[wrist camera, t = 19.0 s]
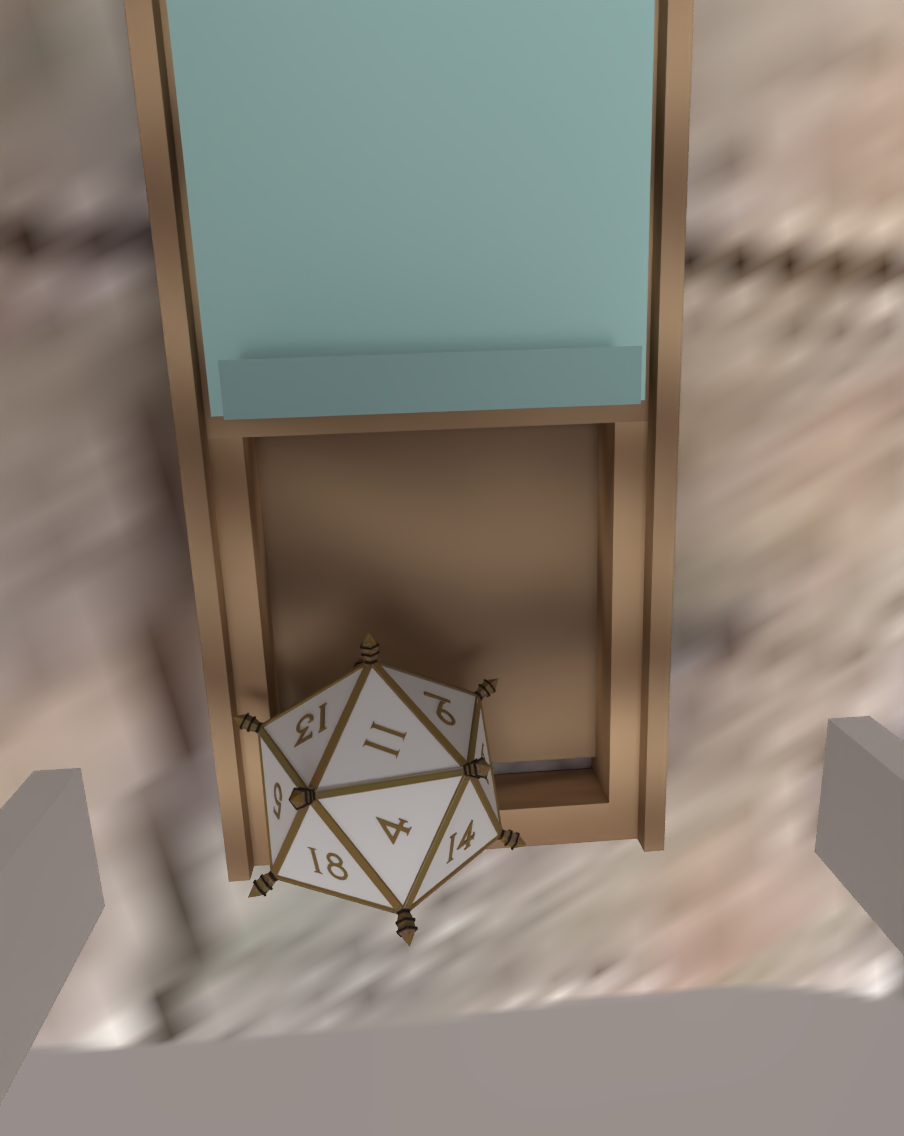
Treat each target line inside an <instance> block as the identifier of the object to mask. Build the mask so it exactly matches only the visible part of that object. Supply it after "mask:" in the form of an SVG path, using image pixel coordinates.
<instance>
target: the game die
mask: <svg viewBox="0 0 904 1136" xmlns="http://www.w3.org/2000/svg"><path fill="white" fill-rule="evenodd" d="M378 646H380V645H379V644H378V643H377V642H376V641H375V640H374V639H373V638H372V636H371V635H370V634H369V633H368V634H367V636H366V638H365V640H364V642H362V644H361V646H360V649H362V653H361V656H363V657H364V659H365V661H363V660H361V659H360V658H359V660H358V661H357V662H356V663H355V665H354V667H353V668H352V669H351V670H349V671H348V672H346V673H344V674H343V675H341V676H339V677H338V678H336V679H334V680H333V681H331V682H329V683H328V684H326V685H324V686H323V687H321V688H320V689H318V690H316V691H315V692H313V693H311V694H310V695H308V696H306V697H305V698H303V699H301V700H300V701H298V702H296V703H295V704H293V705H292V706H290V707H288V708H287V709H285V710H283V711H282V712H280V713H278V714H277V715H275V716H273V717H272V718H270V719H268V720H267V721H265V722H264V723H262V722H259V721H258V720H257V719H256V716H254V717H252V716H250V715H249V713H247V714H243V715H237V716H232V717H233V718H234V720H235V721H236V722H237V724H238V725H239V727H240V728H239V729H241V730H242V729H245V730H247V732H250V731H252V732H256V733H257V734H258V742H259V753H260V763H261V774H262V785H263V795H264V806H265V817H266V827H267V838H268V849H269V860H270V870H271V871H270V872H269V873H267V874H265V875H263V874H262V875H261V876H260V878H259V879H258V880H257V881H256V880H254V882H253V883H254V885H253V887H252V890H251V892H250V894H249V897H255V896H261V895H264V896H266V893H267V892H268V891H269V890H272V889H273V888H272V886H273V885H274V883H275V882H276V881H277V880H280V881H284V882H287V883H291V884H294V885H298V886H301V887H304V888H308V889H311V890H315V891H318V892H322V893H325V894H329V895H332V896H336V897H339V898H343V899H346V900H350V901H353V902H357V903H360V904H364V905H367V906H371V907H374V908H378V909H381V910H385V911H388V912H392V913H395V914H398V920H397V922H396V925H397V926H398V930H397V931H396V932H397V934H398V935H399V936H400V937H402V938H403V939H404V940H405V941H406V943H407V944H408V945H409V946H410V944H411V941H412V939H413V936H414V933H415V932H416V930H417V929H418V928H417V927H415V924H414V922H415V918H413V917H412V915H411V914H410V911H411V910H412V909H413V908H415V907H416V906H417V905H418V904H419V903H421V902H422V901H423V900H424V899H426V898H427V897H428V896H429V895H430V894H432V893H433V892H434V891H435V890H436V889H438V888H439V887H440V886H441V885H443V884H444V883H445V882H446V881H447V880H449V879H450V878H451V877H452V876H454V875H455V874H456V873H457V872H458V871H460V870H461V869H462V868H463V867H464V866H466V865H467V864H468V863H469V862H471V861H472V860H473V859H474V858H475V857H477V856H478V855H479V854H480V853H482V852H483V851H484V850H485V849H486V848H488V847H489V846H490V845H491V844H492V843H494V842H495V841H496V840H501V841H502V842H503V843H504V846H509V847H511V850H513V849H514V848H517V847H521V846H526V843H525V842H524V841H523V839H522V838H521V836H520V833H518V832H516V833H514V832H513V831H512V830H508V831H507V830H503V829H502V824H501V818H500V811H499V805H498V799H497V793H496V787H495V780H494V774H493V768H492V762H491V756H490V749H489V743H488V737H487V731H486V725H485V718H484V712H483V706H482V699H483V698H484V697H489V696H491V695H490V694H491V693H494V692H496V690H495V689H496V686H497V683H498V679H499V678H498V679H490V680H486V679H484V680H483V681H484V682H483V683H482V684H478V686H479V687H478V689H477V691H475V692H472V691H469V690H466V689H463V688H460V687H457V686H454V685H451V684H448V683H445V682H442V681H439V680H435V679H432V678H429V677H426V676H423V675H420V674H417V673H414V672H411V671H408V670H405V669H402V668H399V667H396V666H393V665H390V664H387V663H384V662H381V661H378V660H377V655H378V654H379V653H380V652H379V651H378ZM249 897H248V898H249Z"/></svg>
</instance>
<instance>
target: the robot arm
mask: <svg viewBox="0 0 904 1136" xmlns="http://www.w3.org/2000/svg"><path fill="white" fill-rule="evenodd" d="M815 853H816V854H817V855H818V856H819V857H820V858H821V860H822V861H823V862H824V863H825V864H826V865H827V867H828V868H829V869H830V870H831V871H832V872H833V874H834V875H835V876H836V877H837V878H838V879H839V881H840V882H841V883H842V884H843V885H844V886H845V888H846V889H847V890H848V891H849V892H850V893H851V895H852V896H853V897H854V898H855V899H856V900H857V902H858V903H859V904H860V905H861V906H862V907H863V909H864V910H865V911H866V912H867V913H868V914H869V916H870V917H871V918H872V919H873V920H874V921H875V923H876V924H877V925H878V926H879V927H880V928H881V930H882V931H883V932H884V933H885V934H886V935H887V937H888V938H889V939H890V940H891V941H892V942H893V944H894V945H895V946H896V947H897V948H898V949H899V951H900V952H901V953H902V954H903V955H904V742H903V741H902V740H901V739H899V738H898V737H897V736H895V735H894V734H893V733H891V732H890V731H889V730H887V729H886V728H885V727H883V726H882V725H881V724H879V723H878V722H877V721H875V720H874V719H873V718H871V717H870V716H862V717H847V718H832V719H828V727H827V737H826V747H825V757H824V766H823V776H822V786H821V796H820V805H819V815H818V825H817V835H816V844H815ZM104 907H105V904H104V898H103V893H102V887H101V881H100V876H99V870H98V864H97V859H96V853H95V847H94V842H93V836H92V831H91V825H90V819H89V814H88V808H87V802H86V797H85V791H84V785H83V780H82V774H81V768H71V769H56V770H41V771H33V773H32V774H31V775H30V776H29V777H28V778H27V779H26V781H25V782H24V783H23V784H22V785H21V786H20V787H19V789H18V790H17V791H16V792H15V793H14V794H13V796H12V797H11V798H10V799H9V800H8V801H7V802H6V804H5V805H4V806H3V807H2V808H1V809H0V1104H1V1103H2V1101H3V1099H4V1097H5V1095H6V1093H7V1091H8V1089H9V1088H10V1085H11V1084H12V1082H13V1080H14V1078H15V1076H16V1074H17V1072H18V1070H19V1068H20V1067H21V1065H22V1063H23V1061H24V1059H25V1057H26V1055H27V1053H28V1051H29V1050H30V1048H31V1046H32V1044H33V1042H34V1040H35V1038H36V1036H37V1034H38V1032H39V1030H40V1029H41V1027H42V1025H43V1023H44V1021H45V1019H46V1017H47V1015H48V1013H49V1011H50V1010H51V1008H52V1006H53V1004H54V1002H55V1000H56V998H57V996H58V994H59V992H60V991H61V989H62V987H63V985H64V983H65V981H66V979H67V977H68V975H69V973H70V972H71V970H72V968H73V966H74V964H75V962H76V960H77V958H78V956H79V954H80V952H81V951H82V949H83V947H84V945H85V943H86V941H87V939H88V937H89V935H90V933H91V932H92V930H93V928H94V926H95V924H96V922H97V920H98V918H99V916H100V914H101V913H102V911H103V909H104Z"/></svg>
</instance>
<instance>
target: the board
mask: <svg viewBox="0 0 904 1136" xmlns="http://www.w3.org/2000/svg"><path fill="white" fill-rule="evenodd" d="M124 7H125V15H126V23H127V32H128V40H129V49H130V57H131V65H132V74H133V82H134V90H135V99H136V107H137V116H138V124H139V132H140V141H141V149H142V157H143V166H144V174H145V183H146V191H147V199H148V208H149V216H150V224H151V233H152V241H153V250H154V258H155V266H156V275H157V283H158V291H159V300H160V308H161V317H162V325H163V333H164V342H165V350H166V359H167V367H168V375H169V384H170V392H171V400H172V409H173V417H174V426H175V434H176V442H177V451H178V459H179V467H180V476H181V484H182V493H183V501H184V509H185V518H186V526H187V534H188V543H189V551H190V560H191V568H192V576H193V585H194V593H195V601H196V610H197V618H198V627H199V635H200V643H201V652H202V660H203V668H204V677H205V685H206V694H207V702H208V710H209V719H210V727H211V735H212V744H213V752H214V761H215V769H216V777H217V786H218V794H219V803H220V811H221V819H222V828H223V836H224V844H225V853H226V861H227V870H228V878H229V882H231V881H245V880H250V878H251V875H252V871H253V868H254V866H258V865H270V860H269V849H268V838H267V827H266V817H265V806H264V795H263V785H262V774H261V763H260V753H259V742H258V734H257V733H256V732H252V731H250V732H247V730H245V729H242V730H241V729H239V728H240V727H239V725H238V724H237V722H236V721H235V720H234V718H233V717H232V716H237V715H243V714H247V713H249V715H250V716H252V717H254V716H256V719H257V720H258V721H259V722H262V723H264V722H265V721H267V720H268V719H270V718H272V717H273V716H275V715H277V714H278V713H280V712H282V711H283V710H285V709H287V708H288V707H290V706H292V705H293V704H295V703H296V702H298V701H300V700H301V699H303V698H305V697H306V696H308V695H310V694H311V693H313V692H315V691H316V690H318V689H320V688H321V687H323V686H324V685H326V684H328V683H329V682H331V681H333V680H334V679H336V678H338V677H339V676H341V675H343V674H344V673H346V672H348V671H349V670H351V669H352V668H353V667H354V665H355V663H356V662H357V661H358V660H359V658H360V659H361V660H363V661H365V659H364V657H363V656H361V653H362V649H360V646H361V644H362V642H364V640H365V638H366V636H367V634H368V633H369V634H370V635H371V636H372V638H373V639H374V640H375V641H376V642H377V643H378V644H379V645H380V646H378V651H379V652H380V653H379V654H378V655H377V660H378V661H381V662H384V663H387V664H390V665H393V666H396V667H399V668H402V669H405V670H408V671H411V672H414V673H417V674H420V675H423V676H426V677H429V678H432V679H435V680H439V681H442V682H445V683H448V684H451V685H454V686H457V687H460V688H463V689H466V690H469V691H472V692H475V691H477V689H478V687H479V686H478V684H482V683H483V682H484V681H483V680H484V679H486V680H490V679H498V678H499V679H498V683H497V686H496V689H495V690H496V692H494V693H491V694H490V695H491V696H489V697H484V698H483V699H482V706H483V712H484V718H485V725H486V731H487V737H488V743H489V749H490V756H491V762H492V763H508V762H523V761H539V760H554V759H569V758H585V757H592V768H591V769H576V770H560V771H545V772H530V773H515V774H499V775H494V780H495V787H496V793H497V799H498V805H499V811H500V818H501V824H502V829H503V830H507V831H508V830H512V831H513V832H514V833H516V832H518V833H520V836H521V838H522V839H523V841H524V842H525V843H526V846H539V845H553V844H567V843H581V842H595V841H609V840H623V839H638V841H639V843H640V844H641V846H642V848H643V850H644V852H647V851H660V850H664V834H665V806H666V777H667V749H668V720H669V692H670V663H671V635H672V606H673V578H674V549H675V521H676V492H677V464H678V436H679V407H680V379H681V350H682V322H683V293H684V265H685V236H686V208H687V179H688V151H689V122H690V94H691V66H692V37H693V9H694V0H655V12H654V53H653V93H652V134H651V175H650V215H649V256H648V297H647V338H646V378H645V400H641V404H626V405H600V406H574V407H548V408H523V409H497V410H471V411H445V412H419V413H393V414H367V415H341V416H316V417H290V418H264V419H238V420H224V416H213V417H211V410H210V401H209V391H208V382H207V373H206V364H205V354H204V345H203V336H202V326H201V317H200V308H199V299H198V289H197V280H196V271H195V262H194V252H193V243H192V234H191V224H190V215H189V206H188V197H187V187H186V178H185V169H184V160H183V150H182V141H181V132H180V122H179V113H178V104H177V95H176V85H175V76H174V67H173V58H172V48H171V39H170V30H169V20H168V11H167V2H166V0H124ZM521 847H525V846H521ZM496 848H510V847H509V846H504V843H503V842H502V841H501V840H496V841H495V842H494V843H492V844H491V845H490V846H489V847H488V848H486V849H496Z"/></svg>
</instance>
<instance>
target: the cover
mask: <svg viewBox="0 0 904 1136" xmlns="http://www.w3.org/2000/svg"><path fill="white" fill-rule="evenodd" d="M166 2H167V11H168V20H169V30H170V39H171V48H172V58H173V67H174V76H175V85H176V95H177V104H178V113H179V122H180V132H181V141H182V150H183V160H184V169H185V178H186V187H187V197H188V206H189V215H190V224H191V234H192V243H193V252H194V262H195V271H196V280H197V289H198V299H199V308H200V317H201V326H202V336H203V345H204V354H205V364H206V373H207V382H208V391H209V401H210V410H211V417H213V416H224V420H238V419H264V418H290V417H316V416H341V415H367V414H393V413H419V412H445V411H471V410H497V409H523V408H548V407H574V406H600V405H626V404H641V400H645V378H646V338H647V297H648V256H649V215H650V175H651V134H652V93H653V53H654V12H655V0H166Z"/></svg>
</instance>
